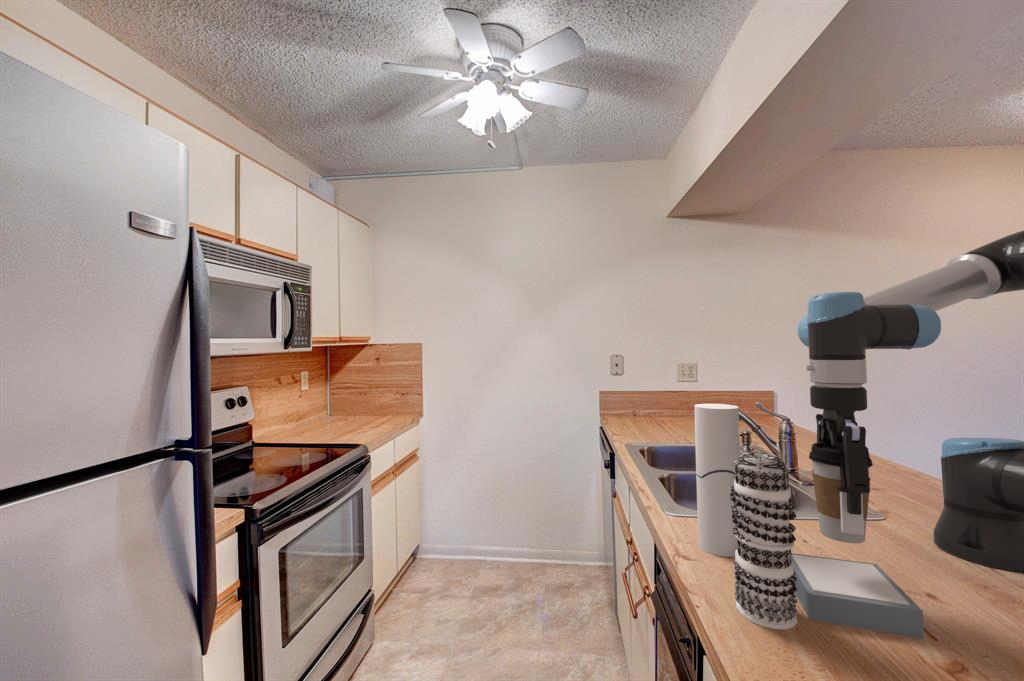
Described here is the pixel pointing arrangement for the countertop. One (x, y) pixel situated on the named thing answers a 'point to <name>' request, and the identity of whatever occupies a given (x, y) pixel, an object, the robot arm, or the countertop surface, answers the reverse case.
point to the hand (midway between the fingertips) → (841, 522)
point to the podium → (854, 596)
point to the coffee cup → (832, 492)
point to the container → (716, 475)
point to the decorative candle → (764, 541)
